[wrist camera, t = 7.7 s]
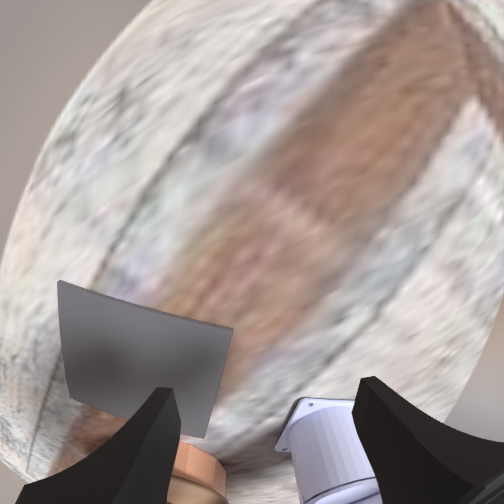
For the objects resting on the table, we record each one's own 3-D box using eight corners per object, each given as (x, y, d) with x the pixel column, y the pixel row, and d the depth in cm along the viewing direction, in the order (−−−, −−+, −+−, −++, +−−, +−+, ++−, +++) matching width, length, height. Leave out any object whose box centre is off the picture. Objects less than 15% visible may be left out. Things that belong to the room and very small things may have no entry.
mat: (233, 328, 20) (233, 331, 19) (204, 435, 23) (204, 438, 22) (59, 280, 18) (57, 281, 18) (71, 395, 21) (70, 397, 21)
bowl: (234, 451, 24) (234, 490, 19) (215, 495, 27) (213, 524, 22) (112, 422, 22) (98, 457, 18) (121, 474, 25) (112, 501, 21)
